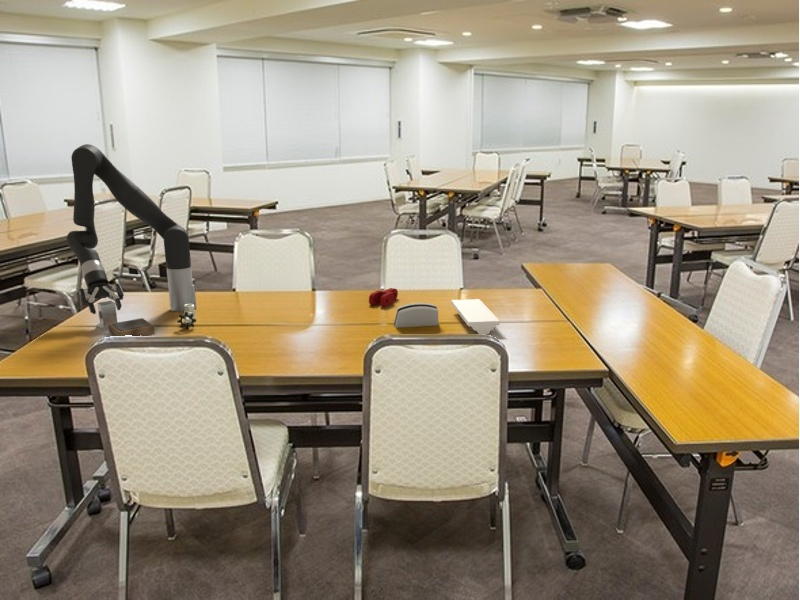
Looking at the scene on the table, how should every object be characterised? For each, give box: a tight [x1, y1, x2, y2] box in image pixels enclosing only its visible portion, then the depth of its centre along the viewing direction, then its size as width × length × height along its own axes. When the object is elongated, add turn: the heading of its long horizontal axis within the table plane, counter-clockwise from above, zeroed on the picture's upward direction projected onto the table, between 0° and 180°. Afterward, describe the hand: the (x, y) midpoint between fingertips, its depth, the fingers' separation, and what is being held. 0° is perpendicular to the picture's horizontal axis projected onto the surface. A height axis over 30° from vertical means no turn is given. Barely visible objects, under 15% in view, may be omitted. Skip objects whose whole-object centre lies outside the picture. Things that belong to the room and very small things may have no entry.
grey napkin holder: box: [393, 302, 439, 329], centre depth 237 cm, size 17×5×10 cm, turn 101°
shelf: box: [450, 298, 501, 335], centre depth 242 cm, size 12×30×5 cm, turn 7°
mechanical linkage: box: [368, 287, 399, 308], centre depth 269 cm, size 16×7×5 cm, turn 151°
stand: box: [108, 317, 155, 337], centre depth 228 cm, size 12×12×3 cm
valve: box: [176, 304, 197, 330], centre depth 238 cm, size 7×7×12 cm
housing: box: [96, 300, 119, 331], centre depth 235 cm, size 6×6×9 cm
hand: (107, 311), depth 234 cm, fingers open, 8 cm apart
